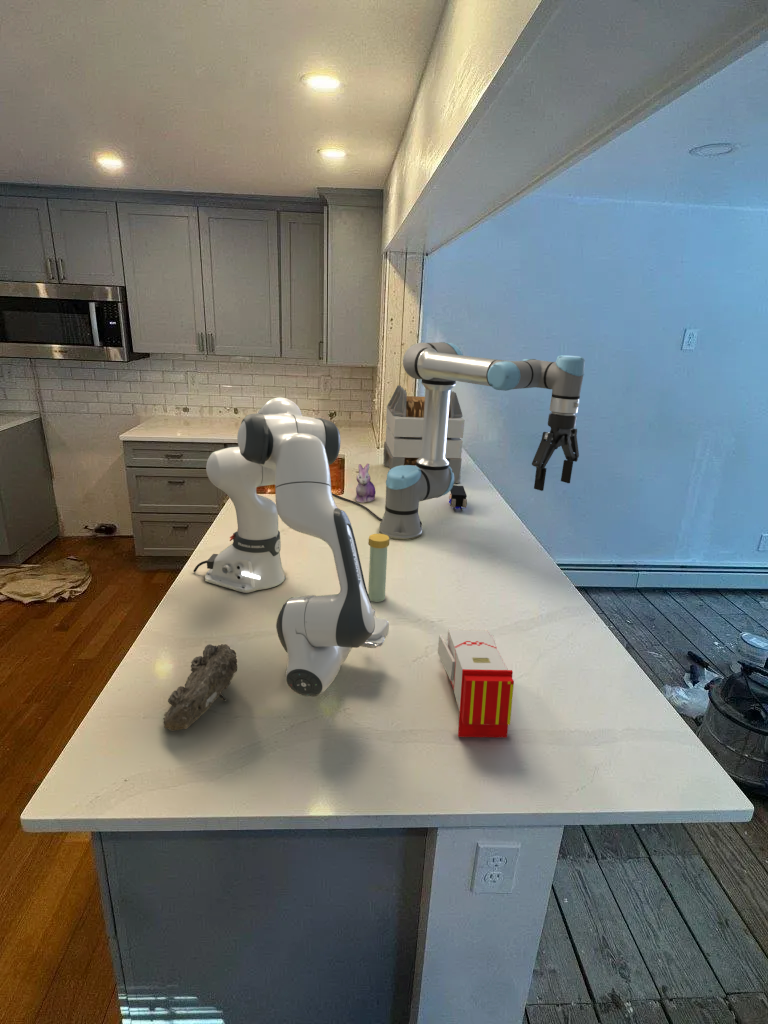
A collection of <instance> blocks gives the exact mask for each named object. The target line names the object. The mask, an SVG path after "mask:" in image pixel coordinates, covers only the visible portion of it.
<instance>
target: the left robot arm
mask: <svg viewBox="0 0 768 1024" xmlns="http://www.w3.org/2000/svg"><path fill="white" fill-rule="evenodd" d="M236 439H237V440H236V441H237V445H238V446H230V447H226V448H221V449H218V450H216V451H215V450H214V451H212V452H211V454H210V455H209V457H208V458H207V461H206V464H205V465H206V466H205V470H206V475H207V478H208V480H209V481H210V483H211V484H212V485H213V486H214V487H216V488H217V489H218V490H221V491H222V492H223V493H224V494H225V495H226V496H227V497H229V499H230V501H231V502H232V504H233V506H234V509H235V515H236V524H237V530H236V531H235V532H233V533H232V534H231V536H229V542H232V543H231V544H230V545H228V546H227V547H226V548H224V549H223V550H221V551H220V552H219V553H213V554H211V555H210V557H209V558H208V559H207V560H204V561H203V560H202V561H201V562H199V563H198V564H196V565H195V568H194V569H193V570H192V571H193V573H196V572H197V571H198V569H199V567H201V566H202V565H206V569H208V571H207V572H206V573H205V575H204V581H205V582H206V583H209V584H213V585H216V586H220V587H222V588H227V589H230V590H233V591H237V592H240V593H244V594H248V593H252V592H255V591H260V590H267V589H272V588H274V587H277V586H280V585H281V584H282V583H283V582H284V581H285V580H286V574H285V571H284V568H283V564H282V559H281V545H282V544H281V543H282V541H281V532H280V530H279V518H280V520H281V522H283V523H284V524H285V525H286V526H287V527H289V528H290V529H291V530H293V531H296V532H298V533H301V534H304V535H307V536H310V537H314V538H317V539H320V540H322V541H323V542H325V544H327V545H328V546H329V548H330V549H331V551H332V555H333V560H334V564H335V565H334V566H335V569H336V574H337V578H338V585H339V588H340V590H339V593H336V594H335V593H334V594H322V595H321V594H320V595H315V594H314V595H313V594H312V595H301V596H292V597H290V598H288V599H287V600H286V601H285V602H284V603H283V605H282V607H281V608H280V611H279V613H278V616H277V619H276V625H275V627H276V633H277V634H276V635H277V637H278V640H279V642H280V644H281V646H282V648H283V649H284V651H285V653H286V654H287V665H286V669H285V681H286V685H287V687H288V688H290V690H291V691H293V692H294V693H296V694H298V695H300V696H304V697H317V696H320V695H322V694H323V693H324V692H325V691H326V690H328V688H329V687H330V686H331V684H332V683H333V682H334V680H335V679H336V677H337V676H338V674H339V672H340V670H341V668H342V664H344V662H345V661H346V660H347V658H348V656H349V654H350V652H351V651H352V649H353V648H355V649H359V648H360V647H361V648H366V649H367V648H368V649H376V648H379V647H382V646H383V645H384V642H385V640H386V638H387V637H388V635H389V632H390V631H389V630H390V623H389V621H388V619H386V618H384V617H377V616H376V609H373V604H372V601H371V600H370V598H369V595H368V589H367V585H366V581H365V577H364V572H363V568H362V563H361V559H360V554H359V550H358V546H357V541H356V537H355V533H354V530H353V526H352V523H351V520H350V518H349V516H348V514H347V513H346V511H344V510H343V509H341V508H339V507H338V506H337V503H336V502H335V500H334V496H333V495H332V493H333V492H332V481H331V479H332V477H331V469H330V465H333V464H334V463H335V461H336V460H337V458H338V457H339V453H340V451H341V450H340V449H341V434H340V430H339V428H338V427H337V425H336V424H335V423H334V422H333V421H331V420H328V419H326V418H322V417H310V416H307V415H306V416H305V415H303V414H302V411H301V409H300V407H299V405H298V404H297V403H296V402H294V401H293V400H291V399H289V398H287V397H273V398H271V399H269V400H268V401H266V403H265V404H264V405H262V406H261V408H260V409H259V410H258V412H257V413H250V414H247V415H246V416H245V417H243V418H242V420H241V421H240V425H239V428H238V431H237V438H236ZM266 486H275V487H274V488H275V490H274V492H275V493H274V494H275V502H274V501H273V500H271V498H268V497H266V496H263V495H260V494H258V493H257V488H258V487H266Z"/></svg>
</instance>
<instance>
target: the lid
mask: <svg viewBox="0 0 768 1024" xmlns="http://www.w3.org/2000/svg"><path fill="white" fill-rule="evenodd" d="M367 543H368V545H369V547H370V546H371V547H373V548H386V547H387V548H388V547H389V546H390V538H389V536H387V535H385V534H380V533H372V534H370V535H369V536H368V541H367Z"/></svg>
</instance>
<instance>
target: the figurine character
mask: <svg viewBox="0 0 768 1024" xmlns="http://www.w3.org/2000/svg"><path fill="white" fill-rule="evenodd" d="M467 495H468V494H467V493H466V490H465V487H464V485H456V484H455V485H454V484H453V487H452V489H451V490H450V491H449V496H448V499H449V500H448V504H449V506H450V507H451V508H452V510H453V512H456V510H458V509H459V510H460V512H463V509H464V508H465V509H466V508H467V506H468V499H467V497H468V496H467Z"/></svg>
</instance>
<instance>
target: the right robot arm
mask: <svg viewBox="0 0 768 1024" xmlns="http://www.w3.org/2000/svg"><path fill="white" fill-rule="evenodd" d="M585 365H586V360H585V358H584V357H582V356H578V355H566V354H565V355H564V354H563V355H558V356H557V357H556V360H555V361H549V360H541V359H536V358H524V359H521V360H506V359H505V360H504V359H503V360H502V359H496V358H487V357H479V356H471V355H464V354H463V352H462V350H461V349H460V347H459V346H457V345H456V344H455V343H451V342H445V341H443V342H442V341H441V342H440V341H439V342H438V341H437V342H417V343H414V344H412V345H411V346H409V347H408V348H407V350H406V351H405V353H404V355H403V358H402V366H403V369H404V372H405V373H406V374H407V375H408V376H409V377H411V378H412V379H415V380H421V385H422V386H423V387H424V389H425V392H424V397H425V404H424V419H423V434H422V449H421V457H420V458H418V459H417V461H416V466H413V465H401V466H396V467H394V468H392V469H390V468H389V470H388V472H387V474H386V479H385V504H384V505H385V507H384V508H385V509H384V513H383V515H382V517H379V516H378V515H377V514H376V513H374V512H373V511H372V510H371V509H369V508H368V507H366V505H363V504H361V503H360V502H357V501H354V500H351V499H349V498H346V497H343V496H340V495H339V494H335V493H333V492H332V497H335V498H338V499H339V500H340V499H341V500H343V501H347V502H349V503H352V504H354V505H357V506H359V507H361V508H363V509H365V510H366V511H367V512H368V513H370V514H371V515H372V516H374V517H375V519H377V520H379V521H380V522H379V527H378V533H379V534H385V535H387V536H389V540H395V541H410V540H415V539H418V538H420V537H421V536H422V535H423V523H422V520H421V518H420V515H419V507H420V506H419V505H420V502H423V501H427V500H431V499H437V498H440V497H443V496H446V495H448V493H450V490H451V489H452V487H453V485H454V484H455V483H454V473H452V469H451V467H450V466H449V462H448V461H447V459H446V458H445V453H446V441H447V428H448V416H449V404H450V392H451V391H452V389H453V388H454V387H455V386H456V384H457V382H461V383H465V384H473V385H479V386H487V387H491V388H492V389H494V390H496V391H503V392H504V391H511V390H520V389H532V388H533V389H534V388H539V389H546V390H551V398H550V404H549V413H548V418H547V419H548V420H547V426H548V427H549V428H550V431H549V432H548V431H543V432H542V435H541V440H540V442H539V445H538V447H537V449H536V452H535V454H534V457H533V460H532V461H531V466H533V467H535V475H534V477H535V478H534V485H533V489H534V490H537V491H539V492H543V491H544V489H545V484H546V483H545V482H546V476H547V468H546V466H547V465H548V463H549V461H550V459H551V457H552V456H553V454H554V453H555V451H556V450H557V449H558V448H560V447H561V449H562V452H563V455H564V458H565V459H563V463H562V468H561V469H562V470H561V475H560V482H562V483H566V484H571V478H572V472H573V466H574V463H576V462H578V461H579V457H580V453H579V444H578V428H576V423H577V419H578V416H577V414H578V412H579V411H578V410H579V406H580V397H581V391H582V385H583V380H584V376H585Z"/></svg>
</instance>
